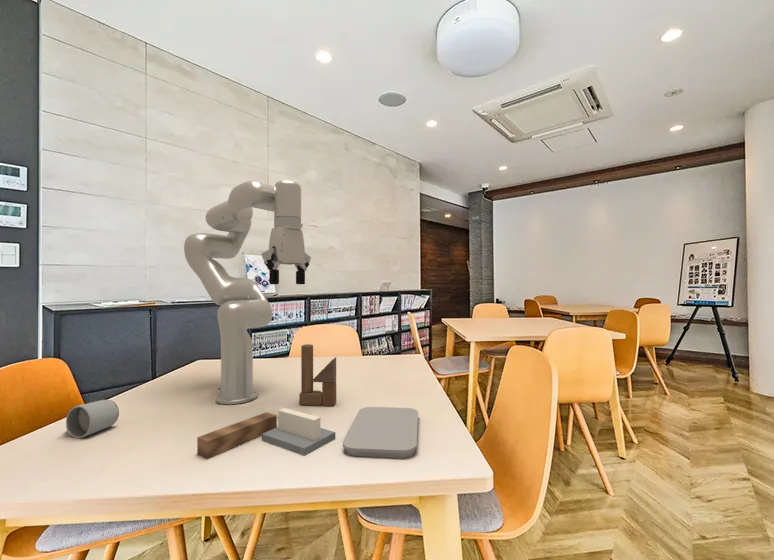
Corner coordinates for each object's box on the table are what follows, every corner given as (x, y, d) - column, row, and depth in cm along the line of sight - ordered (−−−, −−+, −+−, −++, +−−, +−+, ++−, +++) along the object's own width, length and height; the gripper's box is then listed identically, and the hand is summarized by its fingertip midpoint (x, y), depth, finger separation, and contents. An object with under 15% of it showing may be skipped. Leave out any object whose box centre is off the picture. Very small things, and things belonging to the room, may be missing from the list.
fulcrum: (261, 440, 84) (261, 414, 84) (294, 426, 93) (294, 402, 93) (304, 455, 77) (304, 427, 77) (335, 438, 85) (335, 413, 85)
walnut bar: (207, 460, 75) (207, 441, 75) (197, 455, 77) (197, 437, 77) (276, 431, 90) (276, 415, 90) (266, 427, 92) (266, 412, 93)
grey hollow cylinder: (121, 426, 93) (121, 396, 93) (89, 439, 85) (89, 407, 85) (88, 424, 95) (88, 395, 95) (54, 437, 87) (54, 405, 87)
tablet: (339, 458, 76) (339, 447, 76) (361, 414, 102) (361, 406, 102) (416, 461, 74) (416, 450, 74) (418, 416, 100) (418, 408, 100)
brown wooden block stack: (333, 406, 107) (333, 346, 108) (298, 405, 109) (298, 346, 109) (336, 402, 111) (336, 344, 111) (303, 401, 112) (303, 344, 113)
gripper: (300, 230, 113) (301, 284, 112) (253, 221, 98) (253, 284, 98) (318, 227, 109) (318, 284, 108) (272, 219, 94) (272, 284, 94)
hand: (287, 284), depth 103 cm, fingers open, 9 cm apart
